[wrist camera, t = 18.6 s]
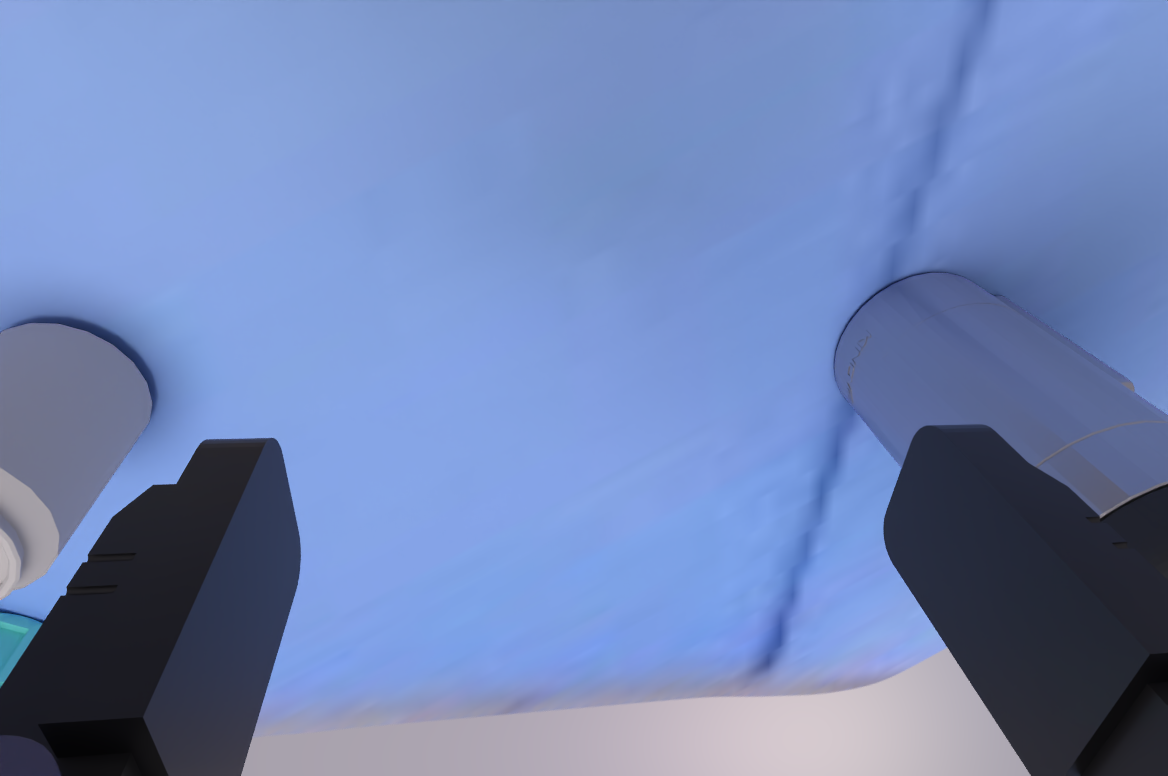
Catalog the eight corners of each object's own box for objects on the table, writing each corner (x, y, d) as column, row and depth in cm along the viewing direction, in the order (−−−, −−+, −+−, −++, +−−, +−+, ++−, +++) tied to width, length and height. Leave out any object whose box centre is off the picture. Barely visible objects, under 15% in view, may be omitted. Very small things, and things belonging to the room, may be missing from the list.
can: (123, 305, 34) (-29, 460, 24) (181, 434, 38) (73, 614, 28) (-46, 324, 33) (-275, 491, 23) (32, 453, 37) (-135, 644, 27)
